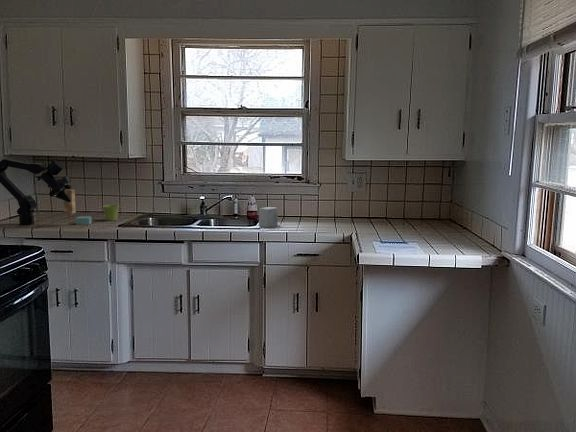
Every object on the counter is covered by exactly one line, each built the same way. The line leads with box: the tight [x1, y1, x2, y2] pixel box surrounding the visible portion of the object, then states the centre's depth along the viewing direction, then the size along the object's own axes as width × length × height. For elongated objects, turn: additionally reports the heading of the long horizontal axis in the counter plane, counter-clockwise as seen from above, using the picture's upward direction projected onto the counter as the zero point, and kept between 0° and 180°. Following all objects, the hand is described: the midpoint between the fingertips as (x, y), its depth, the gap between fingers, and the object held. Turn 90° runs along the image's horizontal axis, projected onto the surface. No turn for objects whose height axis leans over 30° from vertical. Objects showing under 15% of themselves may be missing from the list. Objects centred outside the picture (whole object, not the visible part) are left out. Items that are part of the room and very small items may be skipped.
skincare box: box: [258, 206, 279, 228], centre depth 301 cm, size 10×6×10 cm, turn 149°
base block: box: [75, 215, 93, 226], centre depth 302 cm, size 7×7×4 cm
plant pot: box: [102, 204, 120, 222], centre depth 316 cm, size 9×9×9 cm
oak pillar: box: [63, 188, 77, 214], centre depth 296 cm, size 4×4×13 cm
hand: (72, 201), depth 296 cm, fingers closed on oak pillar, 4 cm apart
